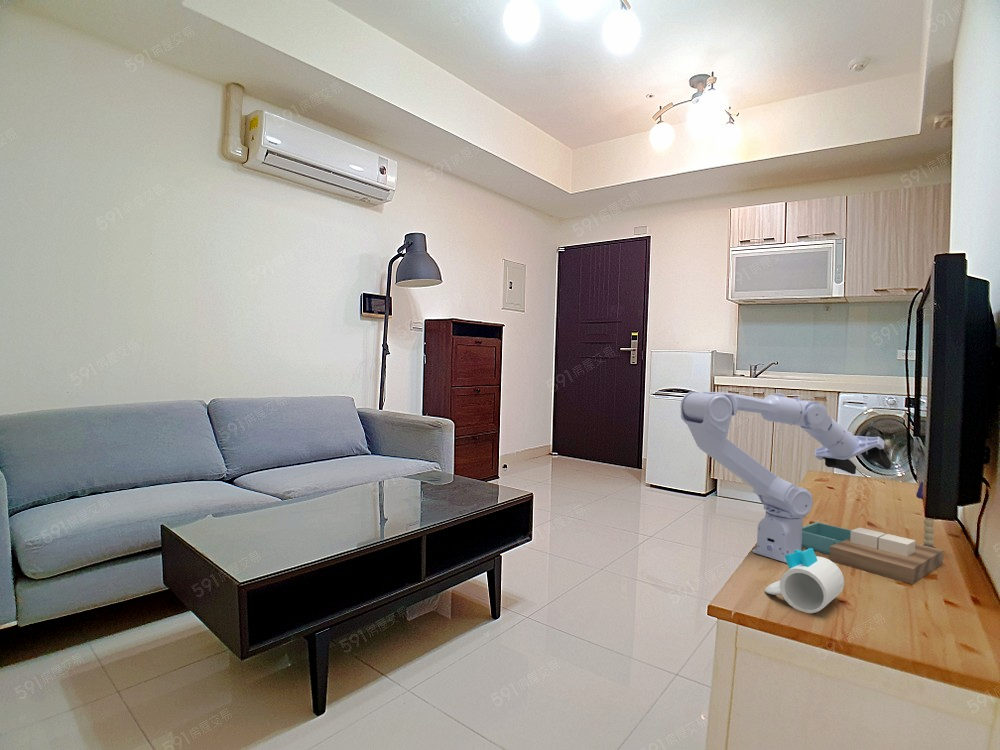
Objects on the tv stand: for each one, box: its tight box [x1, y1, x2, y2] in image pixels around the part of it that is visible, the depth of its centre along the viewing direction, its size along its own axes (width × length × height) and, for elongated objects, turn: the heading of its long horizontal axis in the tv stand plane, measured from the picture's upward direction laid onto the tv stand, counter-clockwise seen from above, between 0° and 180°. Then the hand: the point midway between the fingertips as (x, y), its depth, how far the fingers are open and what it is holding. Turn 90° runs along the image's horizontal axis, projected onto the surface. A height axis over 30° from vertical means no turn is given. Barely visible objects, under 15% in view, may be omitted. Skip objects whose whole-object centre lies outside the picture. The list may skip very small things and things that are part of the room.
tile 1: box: [850, 526, 887, 549], centre depth 115 cm, size 5×5×2 cm
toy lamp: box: [915, 480, 936, 548], centre depth 119 cm, size 5×5×17 cm
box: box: [801, 521, 853, 555], centre depth 122 cm, size 12×9×4 cm
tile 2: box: [878, 533, 916, 557], centre depth 111 cm, size 5×5×2 cm
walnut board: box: [828, 538, 944, 585], centre depth 112 cm, size 20×14×3 cm
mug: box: [764, 548, 845, 614], centre depth 93 cm, size 12×9×12 cm
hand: (871, 467), depth 121 cm, fingers open, 7 cm apart
